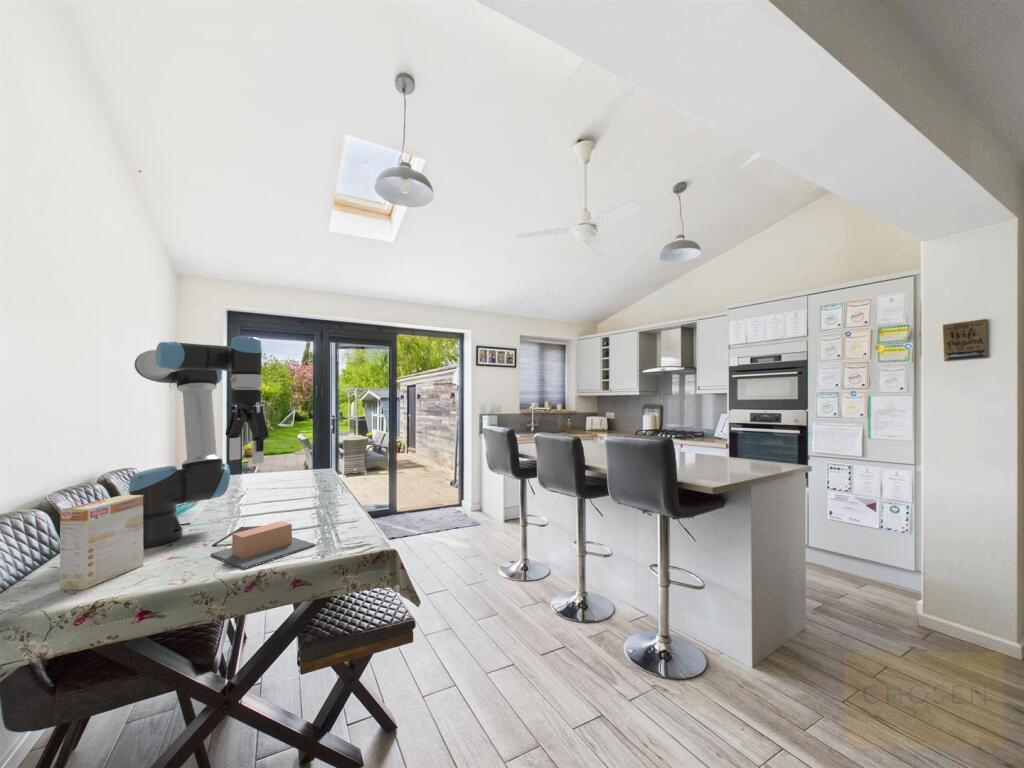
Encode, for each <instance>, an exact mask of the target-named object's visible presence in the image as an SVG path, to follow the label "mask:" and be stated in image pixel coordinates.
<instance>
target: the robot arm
mask: <svg viewBox="0 0 1024 768" xmlns="http://www.w3.org/2000/svg"><path fill="white" fill-rule="evenodd" d="M155 348H156V349H151V350H145V351H144V352H142V353H140V354H139V355H137V356H136V358H135V360H134V369H135V371H136V373H138V374H139V376H141V377H142V378H144V379H147V380H149V381H152V382H156V383H162V384H176V390H178V391H179V392H180V393H182V401H183V402H182V404H183V416H184V417H183V418H184V420H183V421H184V434H185V437H184V438H185V448H186V451H185V452H186V459H185V460H184V461H183V462H182V464H181V469H178V468H177V467H176V466H175V465H167V466H160V467H159V466H158V467H155V468H151V469H146V470H142V471H139V472H137V473H135V474H133V475H132V476H131V477H130V478H129V482H128V484H129V486H128V489H127V490H128V495H143V547H148V548H150V547H149V546H153V547H157V546H156V545H158V546H161V545H160V544H162V545H165V544H164V543H166V544H169V542H170V543H173V542H175V541H178V540H179V539H181V538H182V537H183V535H184V534H183V526H182V525H181V522H180V520H179V517H178V515H177V505H183V504H189V503H194V502H195V503H196V502H201V501H205V500H206V501H209V500H211V499H215V498H220V497H222V496H224V495H225V494H226V492H227V491H228V489H229V484H230V481H231V470H230V466H229V465H228V464H227V463H223V458H222V457H220V456H219V455H217V453H218V452H217V442H216V428H215V416H214V401H213V391H215V389H216V388H217V385H218V384H220V383H221V381H222V379H223V378H222V377H223V376H222V375H223V371H226V372H231V373H230V374H231V375H230V378H229V381H230V383H231V386H230V387H231V388H232V389H233V390H231V392H230V393H231V394H230V396H231V397H230V401H231V403H232V405H230V413H229V416H228V417H229V418H228V421H227V426H226V429H225V436H227V437H228V439H229V461H235V460H241V453H242V452H241V444H242V443H241V437H242V435H241V432H242V431H243V428H244V425H245V423H247V425H248V427H249V429H250V432H251V435H252V439H251V441H252V442H251V443H252V446H251V447H252V451H251V452H252V453H251V454H252V457H251V459H252V460H251V461H252V464H253V465H254V464H255V465H256V464H261V463H265V461H264V459H265V458H264V457H265V456H264V455H265V453H264V452H265V450H264V449H265V447H264V446H265V445H264V443H265V440H266V439H268V438H269V432H268V431H269V430H268V427H267V423H266V420H265V416H264V406H263V405H257V403H261V402H262V391H261V389H262V352H263V348H262V341H261V340H260V338H257V337H253V336H233V337H232V339H231V343H230V346H229V345H228V346H227V345H216V344H214V345H213V344H198V343H185V342H177V341H160V342H158V344H157V346H156V347H155ZM233 403H236V405H235V404H234V405H233Z"/></svg>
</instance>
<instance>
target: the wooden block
mask: <svg viewBox="0 0 1024 768" xmlns="http://www.w3.org/2000/svg"><path fill="white" fill-rule="evenodd" d="M260 526H261V527H257V528H253V529H249V530H246V531H242V532H238V533H234V534H232V545H231V546H232V547H231V548H232V555H234V556H236V557H239V558H241V559H244V558H247V557H250V556H254V555H257V554H260V553H263V552H266V551H270V550H273V549H276V548H279V547H282V546H286V545H289V544H292V537H293V534H292V533H293V530H292V529H293V528H292V527H293V525H292V523H290V522H286V521H282V520H281V521H277V522H273V523H270V524H269V523H268V524H267V525H266V524H265V525H260Z"/></svg>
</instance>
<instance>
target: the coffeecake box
mask: <svg viewBox="0 0 1024 768" xmlns="http://www.w3.org/2000/svg"><path fill="white" fill-rule="evenodd" d="M59 511H60V513H59V514H60V515H59V516H60V519H59V520H60V522H59V523H60V524H59V525H60V527H59V539H60V540H59V590H64V591H65V590H68V591H69V590H76V591H77V590H78V591H84V590H87V589H89V588H92V587H94V586H96V585H98V584H101V583H103V582H105V581H109V580H111V579H113V578H115V577H118V576H120V575H123V574H125V573H127V572H131V571H133V570H134V569H137V568H140V567H143V566H144V548H143V495H129V494H121V495H118V496H117V495H116V496H112V497H108V498H105V499H100V500H96V501H91V502H88V503H83V504H78V505H75V506H70V507H67V508H61V509H60V510H59ZM142 565H143V566H142Z"/></svg>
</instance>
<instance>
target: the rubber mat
mask: <svg viewBox="0 0 1024 768" xmlns="http://www.w3.org/2000/svg"><path fill="white" fill-rule="evenodd" d="M310 547H311V548H314V547H316V543H314V542H310V541H307V540H302V539H299V538H295V537H293V536H292V544H289V545H286V546H282V547H279V548H276V549H273V550H270V551H266V552H263V553H260V554H257V555H254V556H250V557H247V558H244V559H241V558H239V557H236V556H234V555H232V547H230V548H225V549H222V550H219V551H215V552H212V553H210V556H211V557H213V558H217V560H220V559H221V561H223V560H224V561H223V562H225V561H226V563H228V564H230V563H231V565H232V564H233V566H235V565H236V566H235V567H237V566H239V567H238V568H240V567H242V568H247V567H250V566H253V565H256V564H259V563H263V562H266V561H269V560H272V559H274V558H278V557H281V556H284V555H287V554H290V555H292V554H291V553H293V554H296V553H298V551H299V552H301V550H302V551H305V550H308V549H311V548H310ZM304 549H305V550H304ZM295 552H296V553H295ZM287 556H288V555H287ZM284 557H285V556H284ZM281 558H282V557H281ZM278 559H279V558H278ZM272 561H273V560H272ZM269 562H270V561H269ZM266 563H267V562H266ZM263 564H264V563H263ZM242 568H241V569H242Z"/></svg>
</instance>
